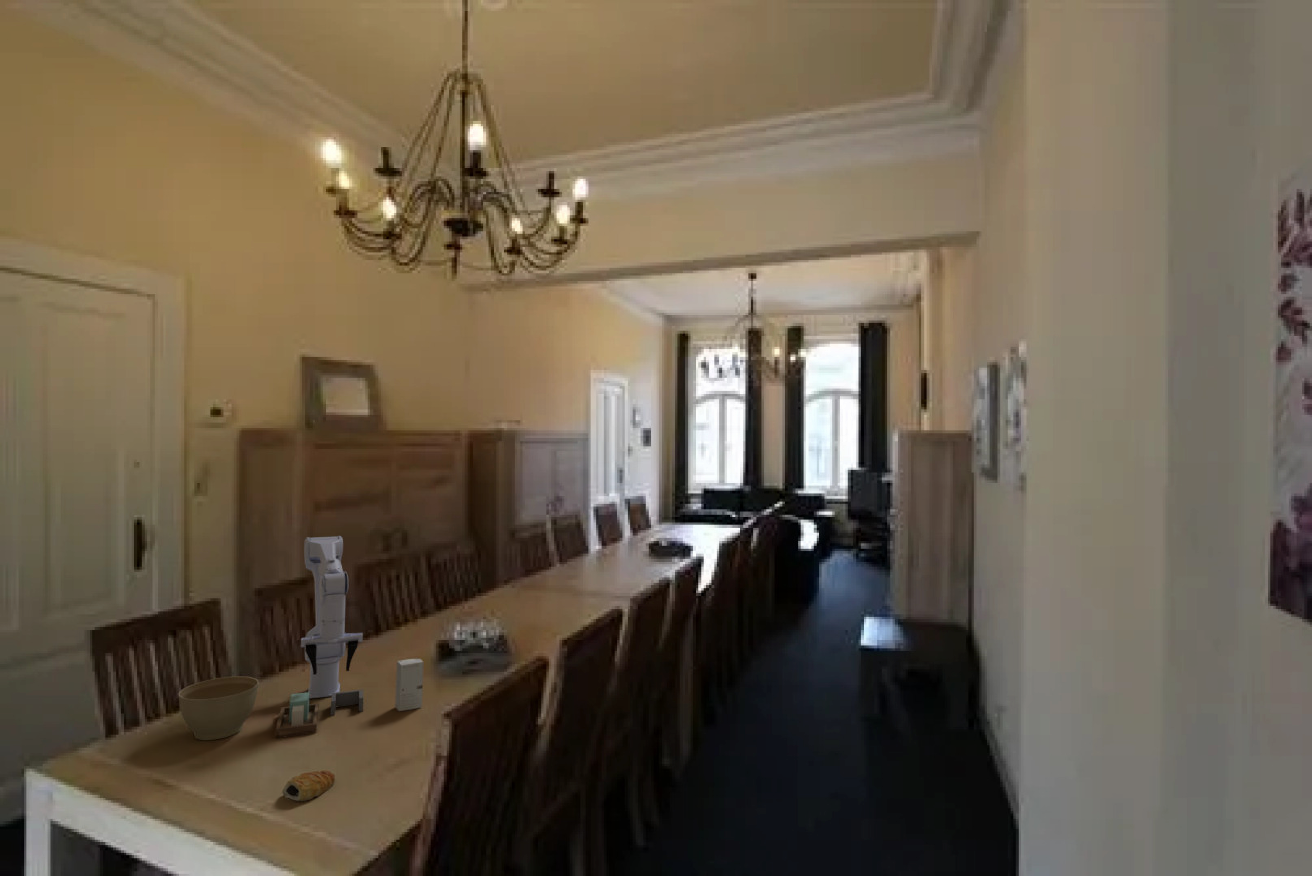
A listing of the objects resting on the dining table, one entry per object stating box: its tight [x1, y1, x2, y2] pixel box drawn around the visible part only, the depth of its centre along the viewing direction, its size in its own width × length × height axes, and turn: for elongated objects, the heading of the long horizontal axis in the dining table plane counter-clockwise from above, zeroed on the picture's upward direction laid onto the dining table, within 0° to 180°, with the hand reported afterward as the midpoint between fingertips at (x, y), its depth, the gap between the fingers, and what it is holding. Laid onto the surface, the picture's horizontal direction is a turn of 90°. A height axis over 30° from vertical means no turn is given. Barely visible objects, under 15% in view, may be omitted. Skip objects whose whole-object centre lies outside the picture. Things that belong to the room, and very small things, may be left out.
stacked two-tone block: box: [289, 691, 310, 726], centre depth 169 cm, size 10×4×5 cm, turn 24°
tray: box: [274, 702, 320, 739], centre depth 169 cm, size 15×9×2 cm, turn 24°
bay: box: [330, 689, 364, 716], centre depth 179 cm, size 7×8×4 cm
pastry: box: [282, 770, 336, 802], centre depth 136 cm, size 9×7×4 cm
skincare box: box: [394, 657, 425, 712], centre depth 181 cm, size 6×4×12 cm
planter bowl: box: [178, 675, 259, 741], centre depth 163 cm, size 16×16×11 cm
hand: (331, 671), depth 178 cm, fingers open, 7 cm apart
